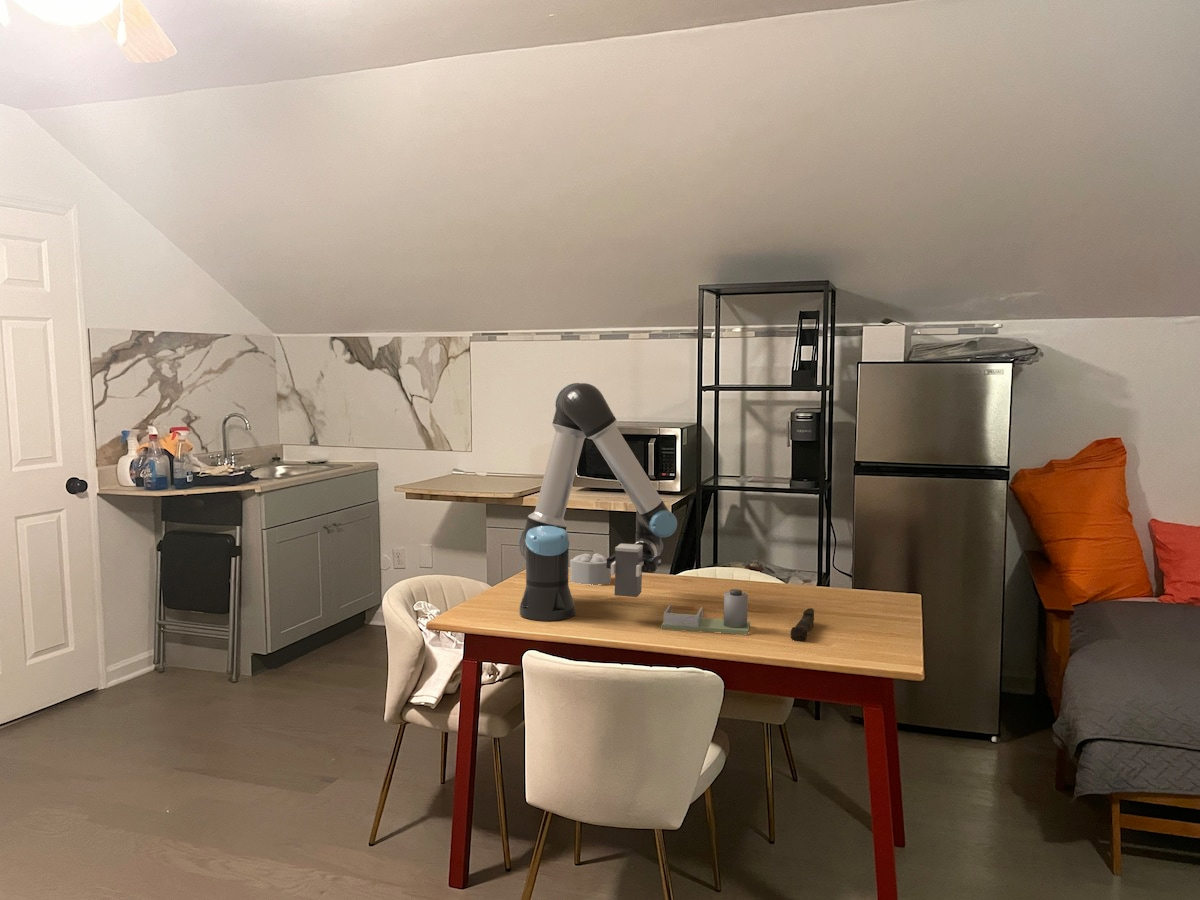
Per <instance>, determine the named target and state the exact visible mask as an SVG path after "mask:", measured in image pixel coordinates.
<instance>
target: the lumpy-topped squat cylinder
mask: <svg viewBox="0 0 1200 900" xmlns="http://www.w3.org/2000/svg"><path fill="white" fill-rule="evenodd" d="M607 558H608V557H605V556H604V555H602V554H601V553H594V554H592V555H591V554H589V553H582V554H579V555H575V557H573V558H571V559H570V561H569V563H570V565H569V567H570V568H569V570H570V571H569V573H570V574H569V582H570V581H571V582H575V583H581V584H591V585H592V584H593V585H598V584H609V583H611V584H612V575H611V569H610V568H606V566H607ZM571 582H570V583H571ZM575 583H574V584H575ZM581 584H580V585H581ZM609 585H610V584H609Z"/></svg>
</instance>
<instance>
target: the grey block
mask: <svg viewBox="0 0 1200 900" xmlns="http://www.w3.org/2000/svg"><path fill="white" fill-rule="evenodd" d="M614 551H615V552H616V560H615V574H614V596H616V597H617V596H618V597H619V596H620V597H630V598H638V597H639V596H640V595H641V593H642V584H643V583H642V578H643V573H642V574H641V575H640V576H639V577H636V566H637V565H638V564H639V563H640V562H642V552H643V545H636V544H635V543H619V544H618V545H617V546H615V548H614Z"/></svg>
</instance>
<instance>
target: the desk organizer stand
mask: <svg viewBox="0 0 1200 900" xmlns="http://www.w3.org/2000/svg"><path fill="white" fill-rule="evenodd" d="M748 596H749V595H748V593H747V592H743V591H742V589H735V588H734V589H730V590H729V591H727V592H724V594H723V619H720V618H705V617H703V619H702V621H701V623H700V625H699V627H689V626H675V625H664V621H663V622H662V623H661V630H667V629H673V630H672V631H681V630H686V631H685V632H695V631H702V632H701V633H709V632H721V633H720V634H723V633H731V634H730V635H736V634H746V635H745V636H748V635H749V633H748V632H749V631H750V629H749V628H751V621H749V620H748V608H749V607H748V603H749V602H748V601H749V599H748Z"/></svg>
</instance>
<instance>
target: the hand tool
mask: <svg viewBox="0 0 1200 900" xmlns="http://www.w3.org/2000/svg"><path fill="white" fill-rule="evenodd" d="M814 624H815V610H814V609H813V608H812V607H810V608H806V609H805V610H804V611H803V614H802V617H801V619H799V621H798V622H797V623H796V625H795V626H793V627H792V628H791V629H790V639H791V640H792V641H793V640H794V641H793V642H798V641H800V642H801V643H802V642H806V640H807V637H808V635H809V633H810V631H811V630H812V629H811V628H813V629H814Z"/></svg>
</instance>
